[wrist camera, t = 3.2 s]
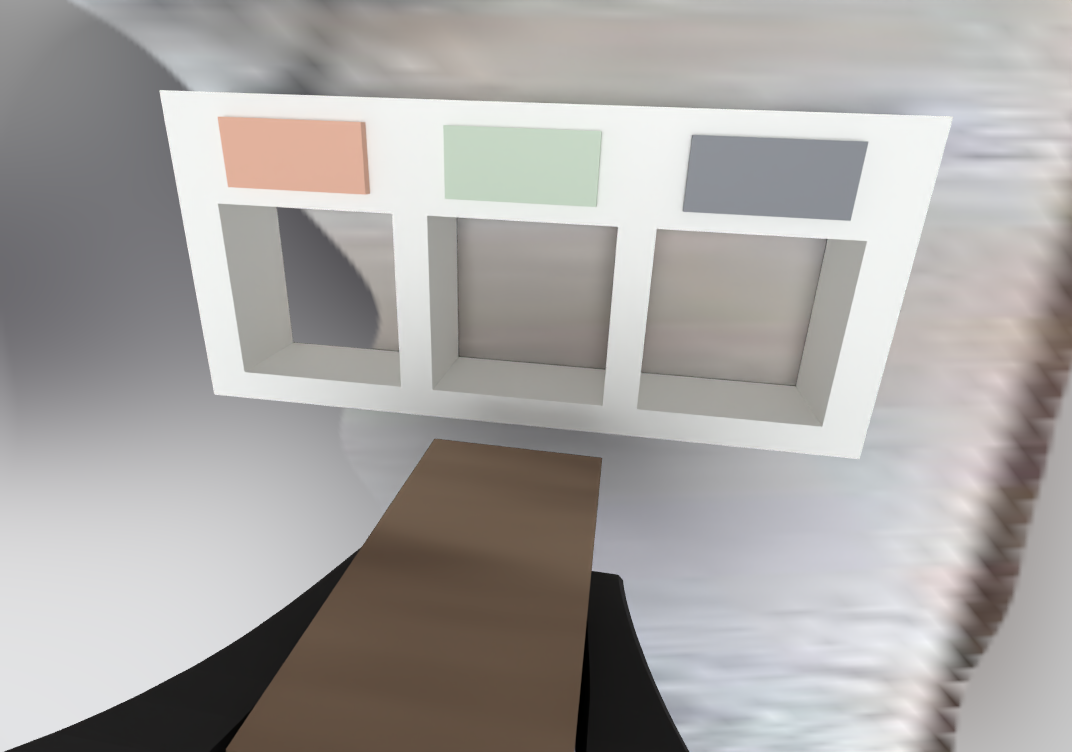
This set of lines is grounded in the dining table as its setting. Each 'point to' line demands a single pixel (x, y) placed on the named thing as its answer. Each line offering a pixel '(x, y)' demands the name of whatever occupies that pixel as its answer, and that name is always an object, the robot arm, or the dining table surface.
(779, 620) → the dining table surface
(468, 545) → the plug
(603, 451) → the dining table surface
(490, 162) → the socket strip
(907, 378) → the dining table surface
